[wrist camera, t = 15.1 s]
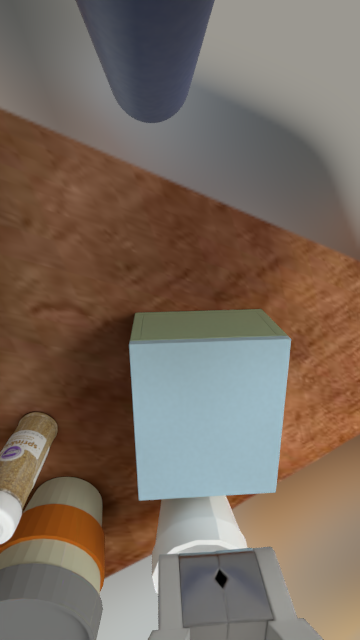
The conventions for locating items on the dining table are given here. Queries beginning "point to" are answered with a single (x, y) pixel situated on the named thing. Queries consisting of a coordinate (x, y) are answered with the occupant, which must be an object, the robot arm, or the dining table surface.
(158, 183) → the dining table surface
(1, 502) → the sprinkles bottle
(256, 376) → the hatch
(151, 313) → the display box
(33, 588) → the reusable coffee cup
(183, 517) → the foam cup
